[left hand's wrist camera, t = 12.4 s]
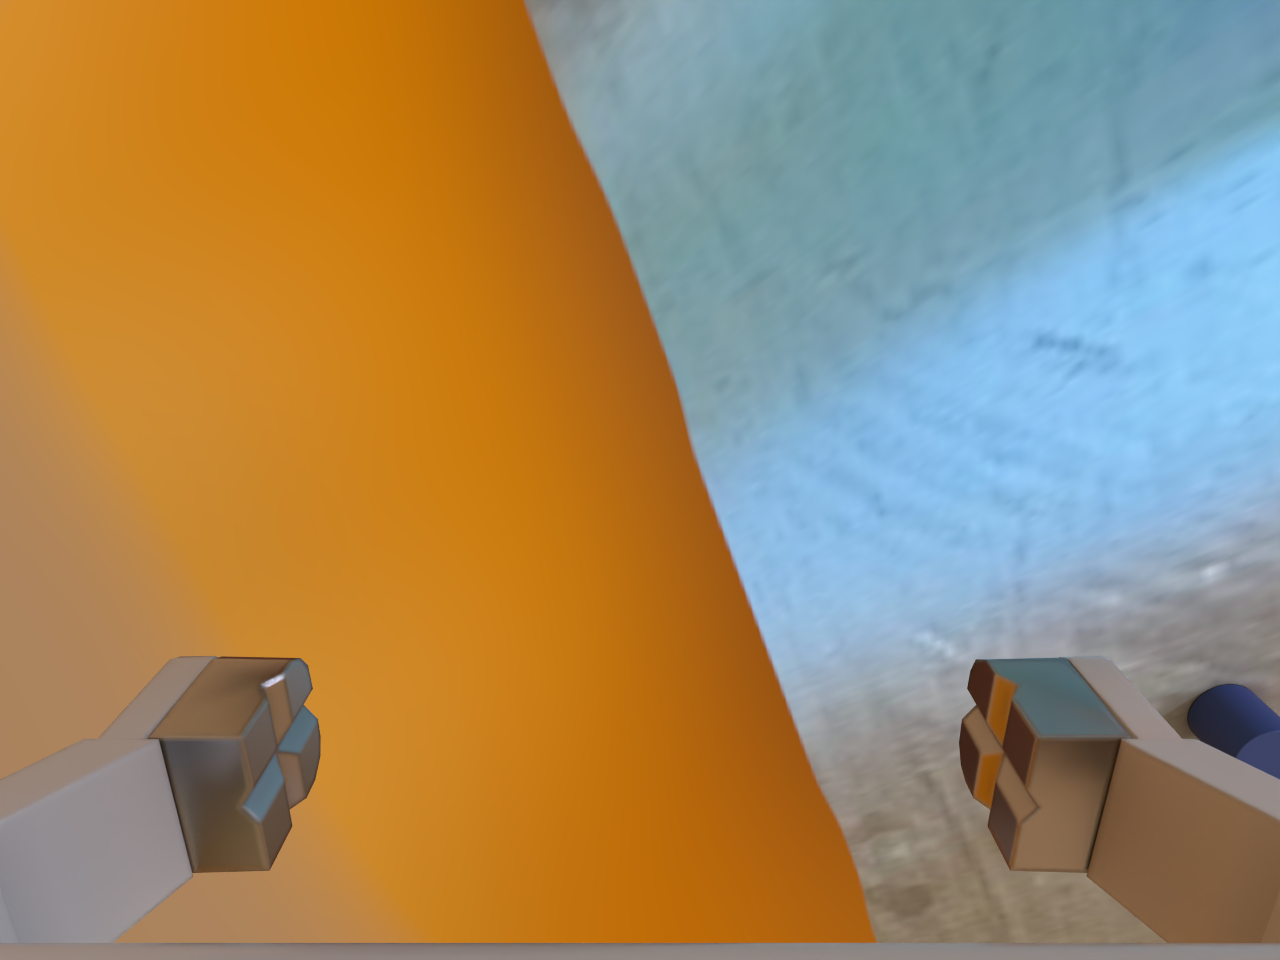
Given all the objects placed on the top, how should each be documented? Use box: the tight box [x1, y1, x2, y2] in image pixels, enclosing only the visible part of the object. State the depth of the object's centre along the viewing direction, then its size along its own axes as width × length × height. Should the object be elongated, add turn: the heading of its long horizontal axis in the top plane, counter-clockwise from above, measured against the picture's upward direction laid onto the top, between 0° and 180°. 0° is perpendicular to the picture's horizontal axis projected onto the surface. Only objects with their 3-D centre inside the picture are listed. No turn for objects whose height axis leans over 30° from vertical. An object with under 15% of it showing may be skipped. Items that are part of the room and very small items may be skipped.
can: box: [1188, 685, 1280, 779], centre depth 54 cm, size 4×4×5 cm
